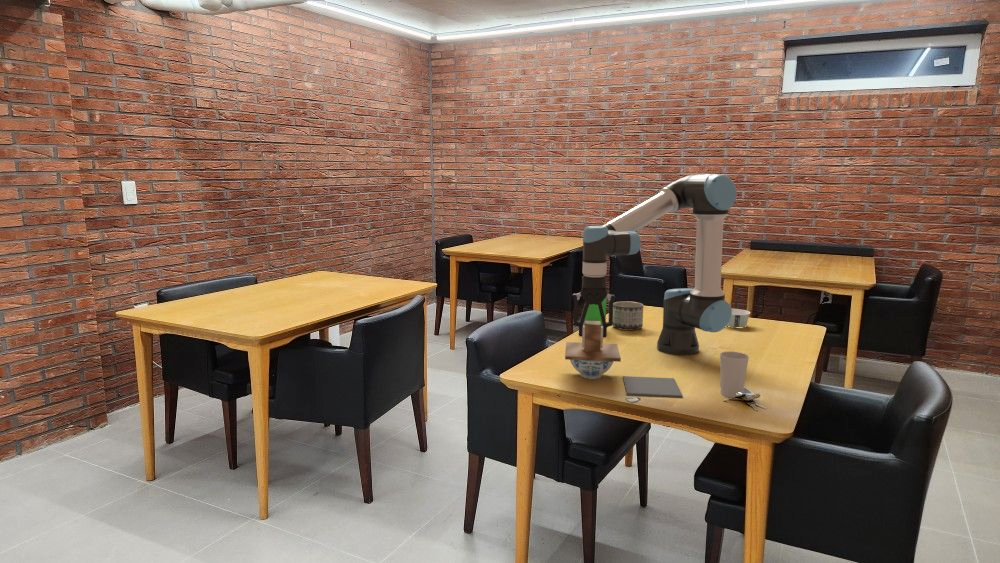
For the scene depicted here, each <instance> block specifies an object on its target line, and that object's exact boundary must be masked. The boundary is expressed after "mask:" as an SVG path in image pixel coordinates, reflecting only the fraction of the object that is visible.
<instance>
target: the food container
mask: <svg viewBox="0 0 1000 563" xmlns="http://www.w3.org/2000/svg"><path fill="white" fill-rule="evenodd" d="M731 309H732V315H731V319H730V321H729V323H728V324H727V325H726V326H730V327H745V326H746V327H747V325H748V322H749V317H750V314H751V312H750V311H749V310H746V309H741V308H740V309H739V308H731Z"/></svg>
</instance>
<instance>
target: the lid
mask: <svg viewBox="0 0 1000 563" xmlns="http://www.w3.org/2000/svg"><path fill="white" fill-rule="evenodd" d="M584 326H585V345H584V347H582V342H577V341H576V342H575V341H572V342H571V341H569V342H568V341H566V342H565V353H564V354H565V355H564V360H568V361H570V360H592V361H614V362H619V363H620V362H621V359H622V358H621V354H620V350H619V346H618V343H604V342H603V348H600V344H601V321H585V320H584Z"/></svg>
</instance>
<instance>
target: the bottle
mask: <svg viewBox="0 0 1000 563" xmlns="http://www.w3.org/2000/svg"><path fill="white" fill-rule="evenodd" d="M607 301H608V297H605V299H604V300H603V301H602V307H603V311H604V316H605V320H606V321H607ZM585 321H601V326H603V324H602V320H601V315H600V311H599V307H598V305H595V304H592V305H589V307H588V310H587V313H586V317H585V320H584V322H585Z"/></svg>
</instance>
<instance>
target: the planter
mask: <svg viewBox="0 0 1000 563" xmlns="http://www.w3.org/2000/svg"><path fill="white" fill-rule="evenodd" d="M643 319H644V304H643V303H641V302H636V301H628V300H627V301H616V302H613V325H612V326H613V327H614V328H616V329H617V328H618V329H619V328H621V329H620V330H622V329H635V330H638V329H641V328H642V327H643V326H644V323H643V321H644V320H643Z"/></svg>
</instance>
